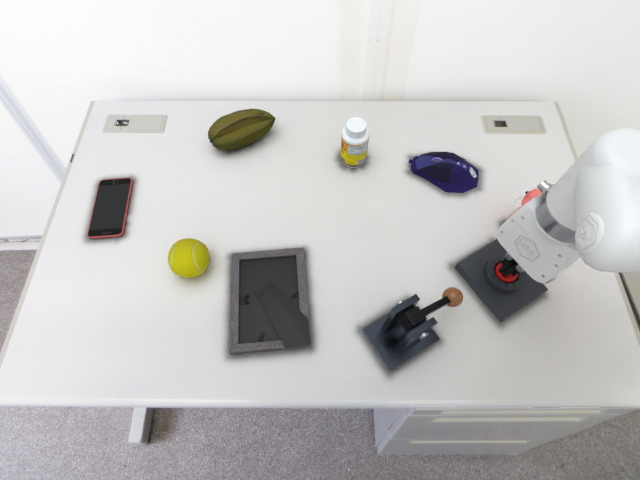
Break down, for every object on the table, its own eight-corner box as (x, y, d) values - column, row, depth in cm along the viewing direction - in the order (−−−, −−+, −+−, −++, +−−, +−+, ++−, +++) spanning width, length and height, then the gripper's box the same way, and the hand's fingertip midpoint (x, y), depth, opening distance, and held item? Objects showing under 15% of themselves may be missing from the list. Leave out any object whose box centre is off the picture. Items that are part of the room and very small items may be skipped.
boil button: (518, 278, 65) (523, 274, 64) (502, 288, 65) (507, 284, 63) (503, 262, 67) (507, 257, 65) (488, 271, 66) (492, 267, 64)
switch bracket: (409, 301, 66) (425, 276, 56) (438, 340, 63) (460, 321, 53) (362, 330, 64) (369, 309, 54) (389, 372, 61) (402, 359, 50)
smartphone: (132, 176, 79) (122, 235, 73) (134, 178, 80) (123, 236, 73) (99, 179, 79) (85, 238, 72) (100, 181, 79) (87, 239, 73)
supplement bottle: (342, 147, 83) (344, 111, 74) (367, 151, 82) (372, 115, 73) (338, 167, 80) (339, 132, 71) (363, 171, 80) (368, 137, 71)
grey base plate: (542, 293, 67) (554, 285, 63) (499, 322, 64) (510, 315, 61) (494, 242, 72) (503, 232, 68) (454, 267, 69) (460, 258, 66)
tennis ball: (172, 283, 69) (157, 268, 62) (179, 249, 72) (166, 231, 66) (211, 283, 68) (199, 268, 62) (216, 249, 72) (206, 231, 65)
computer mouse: (476, 198, 76) (484, 186, 73) (403, 183, 78) (407, 171, 75) (479, 163, 80) (487, 150, 77) (410, 149, 82) (414, 137, 79)
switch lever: (446, 291, 63) (457, 280, 61) (459, 306, 62) (471, 297, 60) (393, 318, 56) (404, 307, 53) (406, 336, 54) (418, 326, 52)
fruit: (232, 116, 88) (225, 93, 82) (279, 130, 86) (275, 107, 80) (208, 152, 83) (199, 130, 77) (257, 167, 81) (251, 146, 75)
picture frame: (310, 347, 63) (303, 251, 71) (310, 344, 61) (303, 246, 69) (231, 354, 62) (233, 257, 71) (228, 352, 61) (231, 252, 69)
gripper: (505, 185, 50) (461, 246, 66) (595, 275, 44) (523, 318, 60) (546, 162, 52) (493, 227, 68) (638, 245, 46) (556, 295, 62)
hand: (507, 270), depth 64 cm, fingers closed
